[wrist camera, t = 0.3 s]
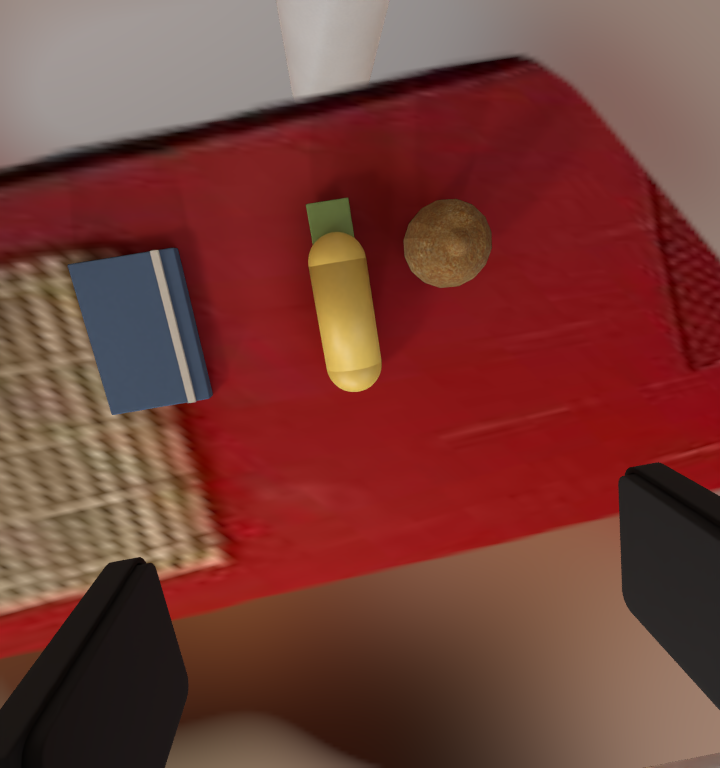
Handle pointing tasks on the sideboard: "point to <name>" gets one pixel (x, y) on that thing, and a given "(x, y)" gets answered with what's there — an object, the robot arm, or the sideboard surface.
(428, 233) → the fruit
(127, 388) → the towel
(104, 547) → the sideboard surface
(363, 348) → the corn cob
